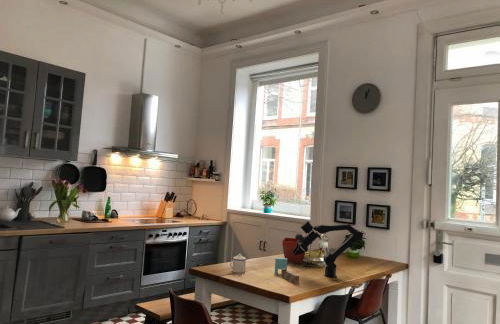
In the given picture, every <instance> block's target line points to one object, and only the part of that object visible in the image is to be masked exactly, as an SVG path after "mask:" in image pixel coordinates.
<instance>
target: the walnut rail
mask: <svg viewBox="0 0 500 324" xmlns="http://www.w3.org/2000/svg"><path fill="white" fill-rule="evenodd" d="M280 270H281V271H280V272H281V273H280V278H283V279H285V280H286V281H288V282H290V283H292V284H293V285H300V275H298V274H296V273H295V272H292V271H290V270H287V271H286V269H280Z"/></svg>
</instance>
